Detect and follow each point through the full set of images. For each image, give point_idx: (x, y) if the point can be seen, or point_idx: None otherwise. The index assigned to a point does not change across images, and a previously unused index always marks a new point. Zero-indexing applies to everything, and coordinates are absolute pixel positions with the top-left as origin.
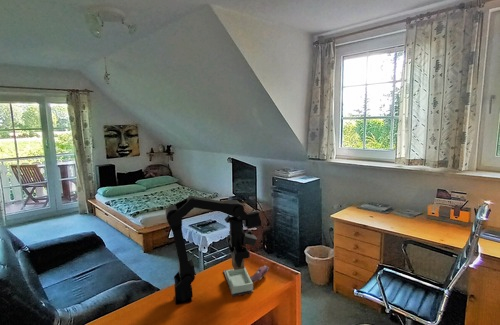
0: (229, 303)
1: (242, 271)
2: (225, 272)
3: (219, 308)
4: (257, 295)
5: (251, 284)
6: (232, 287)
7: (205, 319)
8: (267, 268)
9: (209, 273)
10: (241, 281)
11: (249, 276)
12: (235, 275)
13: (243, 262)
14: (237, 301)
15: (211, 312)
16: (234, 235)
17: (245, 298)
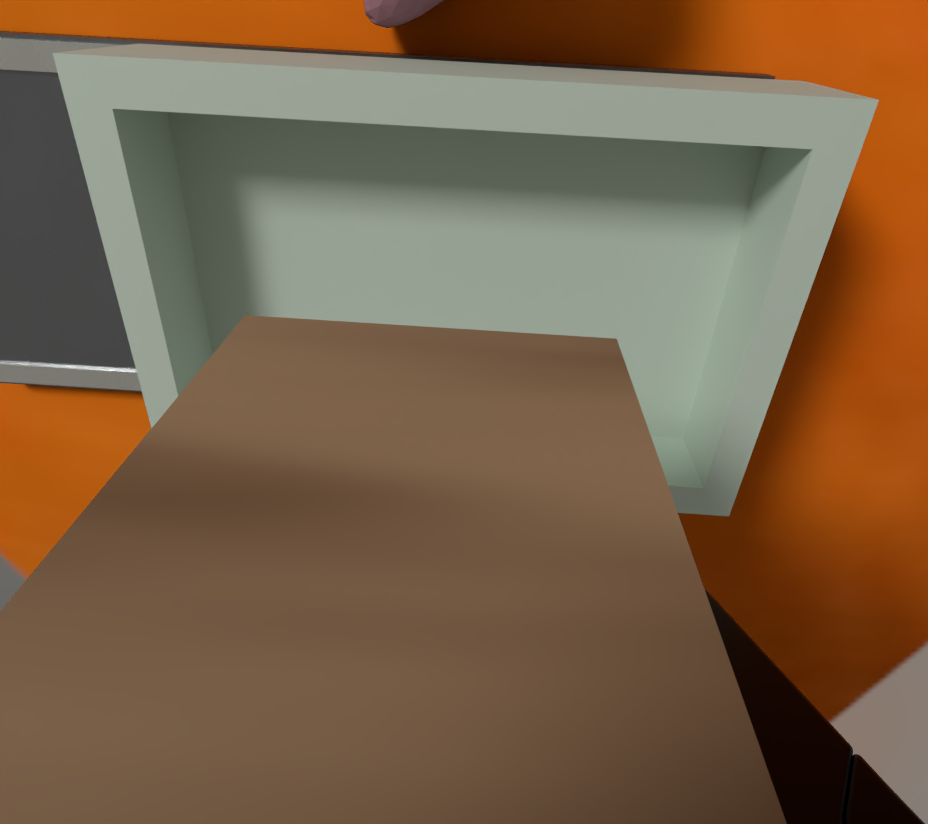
0: (782, 475)
1: (160, 131)
2: (63, 372)
3: (793, 576)
4: (898, 19)
5: (854, 142)
6: (730, 507)
7: (856, 689)
8: None
9: (55, 532)
10: (498, 253)
11: (544, 84)
12: (262, 299)
13: (654, 515)
14: (812, 382)
15: (800, 640)
16: None
17: (826, 260)
